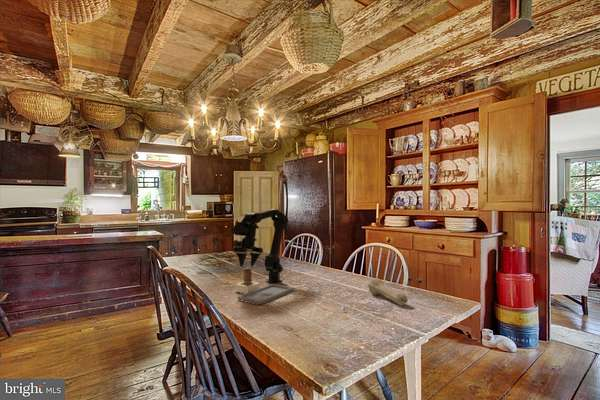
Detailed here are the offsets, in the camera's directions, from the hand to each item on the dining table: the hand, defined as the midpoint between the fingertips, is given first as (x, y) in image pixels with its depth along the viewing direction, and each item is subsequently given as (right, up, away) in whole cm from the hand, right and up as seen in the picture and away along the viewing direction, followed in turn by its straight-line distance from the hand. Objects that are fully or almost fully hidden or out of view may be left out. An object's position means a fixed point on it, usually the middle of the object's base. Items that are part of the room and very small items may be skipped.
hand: (246, 266), depth 161 cm
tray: (+11, -13, -7) cm, 18 cm away
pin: (0, -13, 0) cm, 13 cm away
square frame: (0, -13, 0) cm, 13 cm away
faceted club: (+69, -13, -16) cm, 72 cm away
